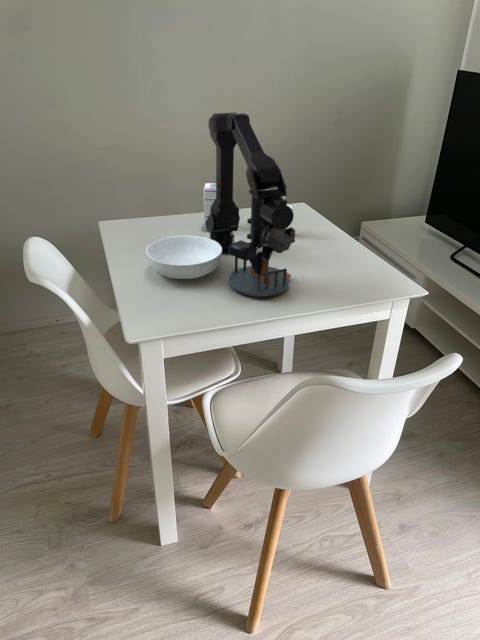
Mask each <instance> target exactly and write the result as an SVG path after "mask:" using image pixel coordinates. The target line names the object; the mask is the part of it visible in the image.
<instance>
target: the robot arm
mask: <svg viewBox="0 0 480 640" xmlns="http://www.w3.org/2000/svg"><path fill="white" fill-rule="evenodd" d="M250 119H251V118H250V116H249V114H247V113H244V112H243V113H241V112H240V113H237V112H234V111H233V112H214V113H212V115H211V116H210V117H209V118H208V122H207V125H208V130H209V135H210V138H211V140H212V141H213V143H214V146H215V152H216V153H215V165H216V166H215V167H216V168H215V173H216V174H215V177H216V178H215V183H216V199H215V201H214V202H213V204H212V205H211V210H210V215H209V217H208V218H207V220H206V222H205V226H206V230H207V231H206V232H208V233H209V237H210V238H209V239H212V240H214V241H216V242H217V243H219V244H220V245H221V247H222V255H229V256H232V257H234V258H235V257H237V258H239V259H240V260H242V261H243V260H246V261H249V263H250V266H251V265H252V267H253V269H254V271H255V273H256V274H259V273H260V268H261V259H262V257H265V258H266V259H268V260H269V261H270V259H271V258H272V255H273V253H274V252H275V253H276V254H283V253H284V252H285V251H288V250H290V247H291V245H292V244H294V243H296V239H295V238H296V229H294V227H292V226H290V225H291V224H292V223H293V220H294V218H295V217H294V216H295V215H294V210H293V211H292V209H291V208H290V207H289V206H287V205H288V200H287V199H286V198H285V199H283V198H282V197H283V196H285V197H287V196H288V195H287V194H288V193H287V185H286V182H285V180H284V177H283V173H282V170H281V169H280V166H279V165H278V163H277V162H276V161H275V159H274V158H273V157H271V156H270V155H268V154H266V153H265V151H264V149H263V147H262V145H261V144H260V141H259V139H258V137H257V135H256V133H255V131H254V129H253V127H252V124H251V123H250V122H251V120H250ZM236 146H238V148H239V151H240V152H241V155H242V157H243V159H244V161H245V163H246V166H247V167H246V172H245V176H246V181H247V184H248V187H249V190H248V193H249V194H250V195H251V209H250V218H247V219H246V220H247V224H249V225H250V233H248V234H247V233H246V239H247V240H250V241H248V242H247V241H245V240H242V239H241V240H240V239H239V240H238V241H236V242H235V234H234V232H238V229H239V225H240V219H241V216H240V208H239V207H238V206H237V204H236V202H235V201H234V157H235V154H234V153H235V147H236ZM205 226H204V227H205ZM287 227H288V229H285V228H287Z"/></svg>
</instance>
